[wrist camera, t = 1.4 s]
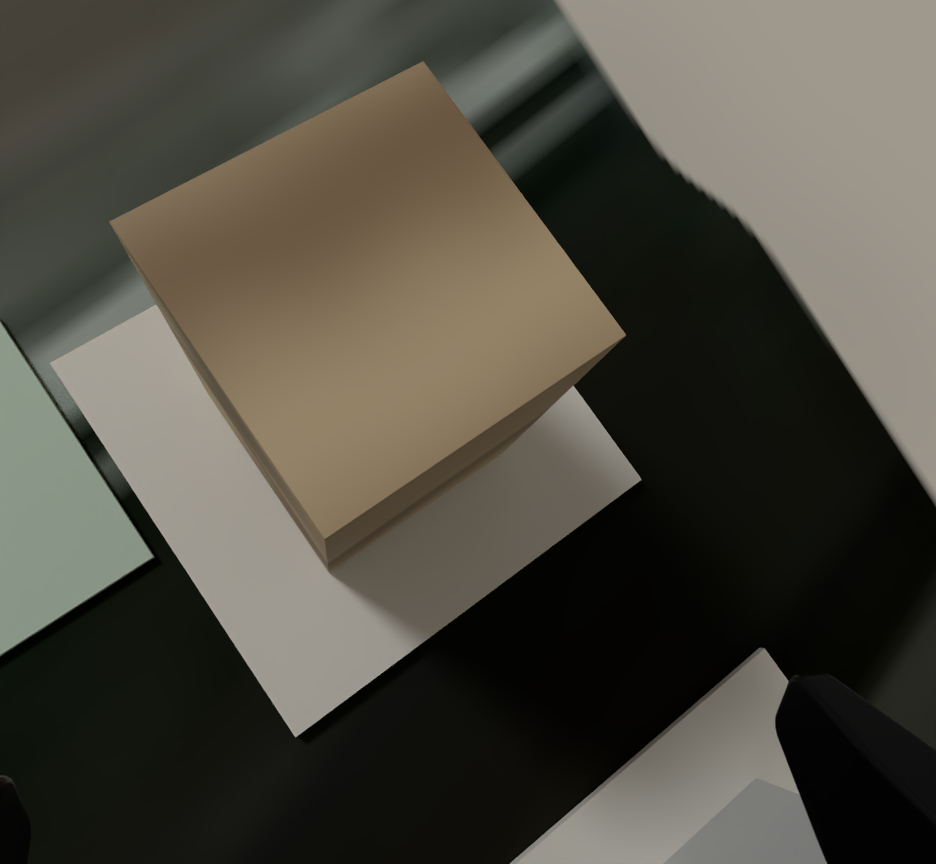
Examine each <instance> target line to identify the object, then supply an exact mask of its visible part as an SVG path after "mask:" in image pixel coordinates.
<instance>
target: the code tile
mask: <svg viewBox="0 0 936 864" xmlns="http://www.w3.org/2000/svg"><path fill="white" fill-rule="evenodd" d="M50 364H51V366H52V367H53V369H54V370H55V372H56V373H57V375H58V376H59V378H60V379H61V381H62V382H63V384H64V386H65V387H66V389H67V390H68V392H69V393H70V395H71V396H72V398H73V399H74V401H75V402H76V404H77V405H78V407H79V408H80V410H81V411H82V413H83V414H84V416H85V418H86V419H87V421H88V422H89V424H90V425H91V427H92V428H93V430H94V431H95V433H96V434H97V436H98V437H99V439H100V440H101V442H102V443H103V445H104V446H105V448H106V450H107V451H108V453H109V454H110V456H111V457H112V459H113V460H114V462H115V463H116V465H117V466H118V468H119V469H120V471H121V472H122V474H123V475H124V477H125V478H126V480H127V481H128V483H129V485H130V486H131V488H132V489H133V491H134V492H135V494H136V495H137V497H138V498H139V500H140V501H141V503H142V504H143V506H144V507H145V509H146V510H147V512H148V513H149V515H150V517H151V518H152V520H153V521H154V523H155V524H156V526H157V527H158V529H159V530H160V532H161V533H162V535H163V536H164V538H165V539H166V541H167V542H168V544H169V545H170V547H171V549H172V550H173V552H174V553H175V555H176V556H177V558H178V559H179V561H180V562H181V564H182V565H183V567H184V568H185V570H186V571H187V573H188V574H189V576H190V577H191V579H192V581H193V582H194V584H195V585H196V587H197V588H198V590H199V591H200V593H201V594H202V596H203V597H204V599H205V600H206V602H207V603H208V605H209V606H210V608H211V609H212V611H213V612H214V614H215V616H216V617H217V619H218V620H219V622H220V623H221V625H222V626H223V628H224V629H225V631H226V632H227V634H228V635H229V637H230V638H231V640H232V641H233V643H234V644H235V646H236V648H237V649H238V651H239V652H240V654H241V655H242V657H243V658H244V660H245V661H246V663H247V664H248V666H249V667H250V669H251V670H252V672H253V673H254V675H255V676H256V678H257V680H258V681H259V683H260V684H261V686H262V687H263V689H264V690H265V692H266V693H267V695H268V696H269V698H270V699H271V701H272V702H273V704H274V705H275V707H276V708H277V710H278V712H279V713H280V715H281V716H282V718H283V719H284V721H285V722H286V724H287V725H288V727H289V728H290V730H291V731H292V733H293V734H294V736H295V737H297V736H298V735H299V734H301V733H302V732H304V731H305V730H306V729H308V728H309V727H310V726H312V725H313V724H314V723H316V722H317V721H318V720H320V719H321V718H322V717H324V716H325V715H326V714H328V713H329V712H330V711H332V710H333V709H334V708H336V707H337V706H338V705H340V704H341V703H342V702H344V701H345V700H346V699H348V698H349V697H350V696H352V695H353V694H355V693H356V692H357V691H359V690H360V689H361V688H363V687H364V686H365V685H367V684H368V683H369V682H371V681H372V680H373V679H375V678H376V677H377V676H379V675H380V674H381V673H383V672H384V671H385V670H387V669H388V668H389V667H391V666H392V665H393V664H395V663H396V662H397V661H399V660H400V659H401V658H403V657H404V656H405V655H407V654H408V653H410V652H411V651H412V650H414V649H415V648H416V647H418V646H419V645H420V644H422V643H423V642H424V641H426V640H427V639H428V638H430V637H431V636H432V635H434V634H435V633H436V632H438V631H439V630H440V629H442V628H443V627H444V626H446V625H447V624H448V623H450V622H451V621H452V620H454V619H455V618H456V617H458V616H459V615H461V614H462V613H463V612H465V611H466V610H467V609H469V608H470V607H471V606H473V605H474V604H475V603H477V602H478V601H479V600H481V599H482V598H483V597H485V596H486V595H487V594H489V593H490V592H491V591H493V590H494V589H495V588H497V587H498V586H499V585H501V584H502V583H503V582H505V581H506V580H507V579H509V578H510V577H512V576H513V575H514V574H516V573H517V572H518V571H520V570H521V569H522V568H524V567H525V566H526V565H528V564H529V563H530V562H532V561H533V560H534V559H536V558H537V557H538V556H540V555H541V554H542V553H544V552H545V551H546V550H548V549H549V548H550V547H552V546H553V545H554V544H556V543H557V542H558V541H560V540H561V539H563V538H564V537H565V536H567V535H568V534H569V533H571V532H572V531H573V530H575V529H576V528H577V527H579V526H580V525H581V524H583V523H584V522H585V521H587V520H588V519H589V518H591V517H592V516H593V515H595V514H596V513H597V512H599V511H600V510H601V509H603V508H604V507H605V506H607V505H608V504H609V503H611V502H612V501H614V500H615V499H616V498H618V497H619V496H620V495H622V494H623V493H624V492H626V491H627V490H628V489H630V488H631V487H632V486H634V485H635V484H636V483H638V482H639V481H640V480H642V479H641V478H640V477H639V475H638V474H637V473H636V471H635V470H634V468H633V467H632V466H631V464H630V463H629V462H628V460H627V459H626V457H625V456H624V455H623V453H622V452H621V451H620V449H619V448H618V446H617V445H616V444H615V442H614V441H613V440H612V438H611V437H610V435H609V434H608V433H607V431H606V430H605V429H604V427H603V426H602V424H601V423H600V422H599V420H598V419H597V418H596V416H595V415H594V413H593V412H592V411H591V409H590V408H589V407H588V405H587V404H586V402H585V401H584V400H583V398H582V397H581V396H580V394H579V393H578V391H577V390H576V389H575V387H574V386H572V387H571V388H570V389H569V390H568V391H567V392H566V393H565V394H564V395H563V396H562V397H561V398H560V399H559V400H558V401H557V402H556V403H555V404H554V405H553V406H552V407H550V408H549V409H548V410H547V411H546V412H545V413H544V414H543V415H542V416H541V417H540V418H539V419H538V420H537V421H536V422H535V423H534V424H533V425H532V426H531V427H530V428H528V429H527V430H526V431H525V432H524V433H523V434H522V435H521V436H520V437H519V438H518V439H517V440H516V441H515V442H514V443H513V444H512V445H511V446H510V447H509V448H508V449H507V450H505V451H504V452H503V453H502V454H500V455H499V456H497V457H496V458H494V459H493V460H492V461H490V462H489V463H487V464H486V465H484V466H483V467H481V468H480V469H479V470H477V471H476V472H474V473H473V474H471V475H470V476H468V477H467V478H466V479H464V480H463V481H461V482H460V483H458V484H457V485H455V486H454V487H453V488H451V489H450V490H448V491H447V492H445V493H444V494H442V495H441V496H440V497H438V498H437V499H435V500H434V501H432V502H431V503H429V504H428V505H426V506H425V507H424V508H422V509H421V510H419V511H418V512H416V513H415V514H413V515H412V516H411V517H409V518H408V519H406V520H405V521H403V522H402V523H400V524H399V525H398V526H396V527H395V528H393V529H392V530H390V531H389V532H387V533H386V534H385V535H383V536H382V537H380V538H379V539H377V540H376V541H374V542H373V543H371V544H370V545H369V546H367V547H366V548H364V549H363V550H361V551H360V552H358V553H357V554H356V555H354V556H353V557H351V558H350V559H348V560H347V561H345V562H344V563H343V564H341V565H340V566H338V567H337V568H335V569H334V570H332V571H331V572H330V573H329V572H328V571H327V569H326V568H325V567H324V565H323V564H322V562H321V561H320V559H319V558H318V556H317V555H316V553H315V552H314V550H313V549H312V547H311V546H310V544H309V543H308V541H307V540H306V538H305V537H304V535H303V534H302V532H301V531H300V530H299V528H298V527H297V525H296V524H295V522H294V521H293V519H292V518H291V516H290V515H289V513H288V512H287V510H286V509H285V507H284V506H283V504H282V503H281V501H280V500H279V498H278V497H277V495H276V494H275V493H274V491H273V490H272V488H271V487H270V485H269V484H268V482H267V481H266V479H265V478H264V476H263V475H262V473H261V472H260V470H259V469H258V467H257V466H256V464H255V463H254V461H253V460H252V458H251V457H250V456H249V454H248V453H247V451H246V450H245V448H244V447H243V445H242V444H241V442H240V441H239V439H238V438H237V436H236V435H235V433H234V432H233V430H232V429H231V427H230V426H229V424H228V423H227V421H226V420H225V419H224V417H223V416H222V414H221V413H220V411H219V410H218V408H217V407H216V405H215V404H214V402H213V401H212V399H211V398H210V396H209V395H208V393H207V392H206V390H205V388H204V386H203V385H202V383H201V381H200V379H199V378H198V376H197V374H196V372H195V371H194V369H193V367H192V365H191V364H190V362H189V360H188V358H187V357H186V355H185V353H184V351H183V350H182V348H181V346H180V344H179V343H178V341H177V339H176V337H175V336H174V334H173V332H172V330H171V329H170V327H169V325H168V323H167V322H166V320H165V318H164V316H163V315H162V313H161V311H160V310H159V308H158V306H157V304H156V305H155V306H153V307H151V308H149V309H147V310H146V311H144V312H142V313H140V314H138V315H136V316H135V317H133V318H131V319H129V320H127V321H126V322H124V323H122V324H120V325H118V326H116V327H115V328H113V329H111V330H109V331H107V332H106V333H104V334H102V335H100V336H98V337H97V338H95V339H93V340H91V341H89V342H87V343H86V344H84V345H82V346H80V347H78V348H77V349H75V350H73V351H71V352H69V353H67V354H66V355H64V356H62V357H60V358H58V359H57V360H55V361H53V362H51V363H50Z"/></svg>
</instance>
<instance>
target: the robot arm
mask: <svg viewBox="0 0 936 864" xmlns="http://www.w3.org/2000/svg"><path fill="white" fill-rule="evenodd" d="M775 729H776V733H777V737H778V740H779V742H780V745H781V747H782V750H783V753H784V755H785V758H786V761H787V763H788V766H789V768H790V771H791V774H792V776H793V779H794V782H795V784H796V787H797V789H798V792H799V795H800V797H801V800H802V803H803V805H804V808H805V810H806V813H807V816H808V818H809V821H810V824H811V826H812V829H813V831H814V834H815V837H816V839H817V841H818V844H819V846H820V849H821V851H822V853H823V856H824V858H825V860H826V862H827V864H936V750H935V749H934V748H932V747H931V746H930V745H928V744H927V743H925V742H924V741H923V740H921V739H920V738H918V737H917V736H916V735H914V734H913V733H911V732H910V731H909V730H907V729H906V728H904V727H903V726H901V725H900V724H899V723H897V722H896V721H894V720H893V719H892V718H890V717H889V716H887V715H886V714H885V713H883V712H882V711H880V710H879V709H878V708H876V707H875V706H873V705H872V704H871V703H869V702H868V701H866V700H865V699H864V698H862V697H861V696H859V695H858V694H857V693H855V692H854V691H852V690H851V689H850V688H848V687H847V686H845V685H844V684H843V683H841V682H840V681H838V680H837V679H836V678H834V677H833V676H831V675H829V674H827V673H824V672H813V673H805V674H797V675H795V676H793V677H792V678H791V679H790V681H789V682H788V685H787V687H786V690H785V692H784V695H783V698H782V700H781V703H780V705H779V708H778V710H777V713H776V716H775ZM30 841H31V825H30V820H29V817H28V814H27V812H26V810H25V807H24V805H23V803H22V800H21V798H20V796H19V793H18V791H17V789H16V786H15V784H14V782H13V781H12V779H11V778H9V777H7V776H0V864H27V861H28V855H29V848H30Z"/></svg>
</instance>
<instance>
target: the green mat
mask: <svg viewBox="0 0 936 864" xmlns="http://www.w3.org/2000/svg"><path fill="white" fill-rule="evenodd" d="M153 558H155V557H154V555H153V554H152V552H151V550H150V549H149V547H148V546H147V544H146V543H145V541H144V540H143V538H142V537H141V535H140V534H139V532H138V531H137V529H136V528H135V526H134V524H133V523H132V521H131V520H130V518H129V517H128V515H127V514H126V512H125V511H124V509H123V508H122V506H121V505H120V503H119V502H118V500H117V498H116V497H115V495H114V494H113V492H112V491H111V489H110V488H109V486H108V485H107V483H106V482H105V480H104V479H103V477H102V475H101V474H100V472H99V471H98V469H97V468H96V466H95V465H94V463H93V462H92V460H91V459H90V457H89V456H88V454H87V453H86V451H85V449H84V448H83V446H82V445H81V443H80V442H79V440H78V439H77V437H76V436H75V434H74V433H73V431H72V430H71V428H70V427H69V425H68V423H67V422H66V420H65V419H64V417H63V416H62V414H61V413H60V411H59V410H58V408H57V407H56V405H55V404H54V402H53V400H52V399H51V397H50V396H49V394H48V393H47V391H46V390H45V388H44V387H43V385H42V384H41V382H40V381H39V379H38V378H37V376H36V374H35V373H34V371H33V370H32V368H31V367H30V365H29V364H28V362H27V361H26V359H25V358H24V356H23V355H22V353H21V352H20V350H19V348H18V347H17V345H16V344H15V342H14V341H13V339H12V338H11V336H10V335H9V333H8V332H7V330H6V329H5V327H4V326H3V324H2V322H1V321H0V656H2V655H3V654H5V653H6V652H8V651H10V650H11V649H13V648H14V647H16V646H17V645H19V644H21V643H22V642H24V641H25V640H27V639H28V638H30V637H31V636H33V635H35V634H36V633H38V632H39V631H41V630H42V629H44V628H45V627H47V626H49V625H50V624H52V623H53V622H55V621H56V620H58V619H59V618H61V617H63V616H64V615H66V614H67V613H69V612H70V611H72V610H74V609H75V608H77V607H78V606H80V605H81V604H83V603H84V602H86V601H88V600H89V599H91V598H92V597H94V596H95V595H97V594H98V593H100V592H102V591H103V590H105V589H106V588H108V587H109V586H111V585H112V584H114V583H116V582H117V581H119V580H120V579H122V578H123V577H125V576H126V575H128V574H130V573H131V572H133V571H134V570H136V569H137V568H139V567H141V566H142V565H144V564H145V563H147V562H148V561H150V560H151V559H153Z"/></svg>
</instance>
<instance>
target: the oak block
mask: <svg viewBox="0 0 936 864" xmlns="http://www.w3.org/2000/svg"><path fill="white" fill-rule="evenodd" d="M110 224H111V226H112V227H113V229H114V231H115V233H116V234H117V236H118V238H119V240H120V241H121V243H122V245H123V247H124V248H125V250H126V252H127V254H128V255H129V257H130V259H131V261H132V262H133V264H134V266H135V268H136V269H137V271H138V273H139V275H140V276H141V278H142V280H143V282H144V283H145V285H146V287H147V289H148V290H149V292H150V294H151V296H152V297H153V299H154V301H155V303H156V304H157V306H158V308H159V310H160V311H161V313H162V315H163V316H164V318H165V320H166V322H167V323H168V325H169V327H170V329H171V330H172V332H173V334H174V336H175V337H176V339H177V341H178V343H179V344H180V346H181V348H182V350H183V351H184V353H185V355H186V357H187V358H188V360H189V362H190V364H191V365H192V367H193V369H194V371H195V372H196V374H197V376H198V378H199V379H200V381H201V383H202V385H203V386H204V388H205V390H206V392H207V393H208V395H209V396H210V398H211V399H212V401H213V402H214V404H215V405H216V407H217V408H218V410H219V411H220V413H221V414H222V416H223V417H224V419H225V420H226V421H227V423H228V424H229V426H230V427H231V429H232V430H233V432H234V433H235V435H236V436H237V438H238V439H239V441H240V442H241V444H242V445H243V447H244V448H245V450H246V451H247V453H248V454H249V456H250V457H251V458H252V460H253V461H254V463H255V464H256V466H257V467H258V469H259V470H260V472H261V473H262V475H263V476H264V478H265V479H266V481H267V482H268V484H269V485H270V487H271V488H272V490H273V491H274V493H275V494H276V495H277V497H278V498H279V500H280V501H281V503H282V504H283V506H284V507H285V509H286V510H287V512H288V513H289V515H290V516H291V518H292V519H293V521H294V522H295V524H296V525H297V527H298V528H299V530H300V531H301V532H302V534H303V535H304V537H305V538H306V540H307V541H308V543H309V544H310V546H311V547H312V549H313V550H314V552H315V553H316V555H317V556H318V558H319V559H320V561H321V562H322V564H323V565H324V567H325V568H326V569H327V571H328V572H329V573H330V572H331V571H332V570H334V569H335V568H337V567H338V566H340V565H341V564H343V563H344V562H345V561H347V560H348V559H350V558H351V557H353V556H354V555H356V554H357V553H358V552H360V551H361V550H363V549H364V548H366V547H367V546H369V545H370V544H371V543H373V542H374V541H376V540H377V539H379V538H380V537H382V536H383V535H385V534H386V533H387V532H389V531H390V530H392V529H393V528H395V527H396V526H398V525H399V524H400V523H402V522H403V521H405V520H406V519H408V518H409V517H411V516H412V515H413V514H415V513H416V512H418V511H419V510H421V509H422V508H424V507H425V506H426V505H428V504H429V503H431V502H432V501H434V500H435V499H437V498H438V497H440V496H441V495H442V494H444V493H445V492H447V491H448V490H450V489H451V488H453V487H454V486H455V485H457V484H458V483H460V482H461V481H463V480H464V479H466V478H467V477H468V476H470V475H471V474H473V473H474V472H476V471H477V470H479V469H480V468H481V467H483V466H484V465H486V464H487V463H489V462H490V461H492V460H493V459H494V458H496V457H497V456H499V455H500V454H502V453H503V452H504V451H505V450H507V449H508V448H509V447H510V446H511V445H512V444H513V443H514V442H515V441H516V440H517V439H518V438H519V437H520V436H521V435H522V434H523V433H524V432H525V431H526V430H527V429H528V428H530V427H531V426H532V425H533V424H534V423H535V422H536V421H537V420H538V419H539V418H540V417H541V416H542V415H543V414H544V413H545V412H546V411H547V410H548V409H549V408H550V407H552V406H553V405H554V404H555V403H556V402H557V401H558V400H559V399H560V398H561V397H562V396H563V395H564V394H565V393H566V392H567V391H568V390H569V389H570V388H571V387H572V386H573V385H575V384H576V383H577V382H578V381H579V380H580V379H581V378H582V377H583V376H584V375H585V374H586V373H587V372H588V371H589V370H590V369H591V368H592V367H593V366H594V365H595V364H596V363H598V362H599V361H600V360H601V359H602V358H603V357H604V356H605V355H606V354H607V353H608V352H609V351H610V350H611V349H612V348H613V347H614V346H615V345H616V344H617V343H618V342H619V341H621V340H622V339H623V338H624V337H625V336H626V334H625V333H624V332H623V330H622V329H621V328H620V326H619V325H618V324H617V322H616V321H615V319H614V318H613V317H612V315H611V314H610V313H609V311H608V310H607V309H606V307H605V306H604V305H603V303H602V302H601V301H600V299H599V298H598V297H597V295H596V294H595V292H594V291H593V290H592V288H591V287H590V286H589V284H588V283H587V282H586V280H585V279H584V278H583V276H582V275H581V274H580V272H579V271H578V269H577V268H576V267H575V265H574V264H573V263H572V261H571V260H570V259H569V257H568V256H567V255H566V253H565V252H564V251H563V249H562V248H561V247H560V245H559V244H558V242H557V241H556V240H555V238H554V237H553V236H552V234H551V233H550V232H549V230H548V229H547V228H546V226H545V225H544V224H543V222H542V221H541V220H540V218H539V217H538V215H537V214H536V213H535V211H534V210H533V209H532V207H531V206H530V205H529V203H528V202H527V201H526V199H525V198H524V197H523V195H522V194H521V193H520V191H519V190H518V188H517V187H516V186H515V184H514V183H513V182H512V180H511V179H510V178H509V176H508V175H507V174H506V172H505V171H504V170H503V168H502V167H501V166H500V164H499V163H498V161H497V160H496V159H495V157H494V156H493V155H492V153H491V152H490V151H489V149H488V148H487V147H486V145H485V144H484V143H483V141H482V140H481V139H480V137H479V136H478V134H477V133H476V132H475V130H474V129H473V128H472V126H471V125H470V124H469V122H468V121H467V120H466V118H465V117H464V116H463V114H462V113H461V112H460V110H459V109H458V107H457V106H456V105H455V103H454V102H453V101H452V99H451V98H450V97H449V95H448V94H447V93H446V91H445V90H444V89H443V87H442V86H441V85H440V83H439V82H438V80H437V79H436V78H435V76H434V75H433V74H432V72H431V71H430V70H429V68H428V67H427V66H426V64H425V63H424V62H421V63H419V64H417V65H415V66H413V67H411V68H409V69H407V70H405V71H403V72H401V73H399V74H397V75H395V76H393V77H392V78H390V79H388V80H386V81H384V82H382V83H380V84H378V85H376V86H374V87H372V88H370V89H368V90H366V91H364V92H362V93H360V94H358V95H356V96H354V97H352V98H350V99H349V100H347V101H345V102H343V103H341V104H339V105H337V106H335V107H333V108H331V109H329V110H327V111H325V112H323V113H321V114H319V115H317V116H315V117H313V118H311V119H309V120H307V121H306V122H304V123H302V124H300V125H298V126H296V127H294V128H292V129H290V130H288V131H286V132H284V133H282V134H280V135H278V136H276V137H274V138H272V139H270V140H268V141H266V142H264V143H263V144H261V145H259V146H257V147H255V148H253V149H251V150H249V151H247V152H245V153H243V154H241V155H239V156H237V157H235V158H233V159H231V160H229V161H227V162H225V163H223V164H221V165H220V166H218V167H216V168H214V169H212V170H210V171H208V172H206V173H204V174H202V175H200V176H198V177H196V178H194V179H192V180H190V181H188V182H186V183H184V184H182V185H180V186H178V187H177V188H175V189H173V190H171V191H169V192H167V193H165V194H163V195H161V196H159V197H157V198H155V199H153V200H151V201H149V202H147V203H145V204H143V205H141V206H139V207H137V208H135V209H133V210H132V211H130V212H128V213H126V214H124V215H122V216H120V217H118V218H116V219H114V220H112V221H110Z"/></svg>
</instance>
